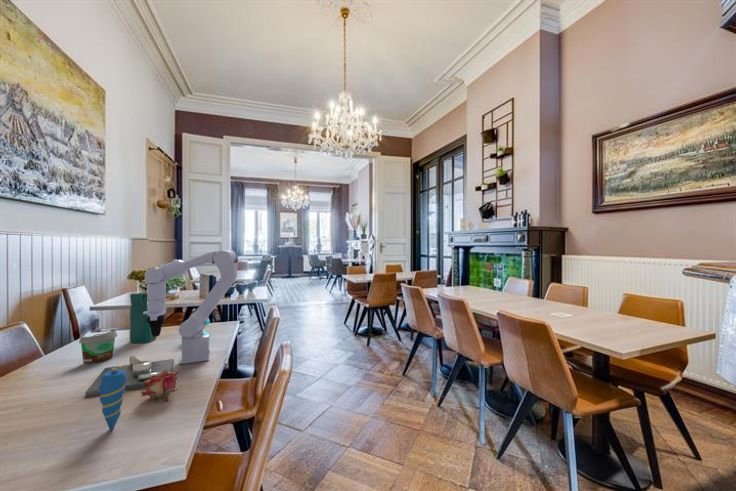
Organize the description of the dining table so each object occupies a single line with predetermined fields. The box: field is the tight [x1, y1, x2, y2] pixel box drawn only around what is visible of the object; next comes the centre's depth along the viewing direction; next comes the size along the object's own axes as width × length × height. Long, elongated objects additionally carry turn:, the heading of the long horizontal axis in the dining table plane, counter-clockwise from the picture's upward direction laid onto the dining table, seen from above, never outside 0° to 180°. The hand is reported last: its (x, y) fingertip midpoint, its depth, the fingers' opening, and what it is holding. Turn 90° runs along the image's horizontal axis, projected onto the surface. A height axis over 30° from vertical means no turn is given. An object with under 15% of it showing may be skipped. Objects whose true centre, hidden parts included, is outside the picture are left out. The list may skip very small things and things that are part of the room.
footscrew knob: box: [129, 355, 153, 376], centre depth 108 cm, size 14×5×3 cm, turn 51°
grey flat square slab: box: [84, 358, 175, 398], centre depth 105 cm, size 20×20×3 cm
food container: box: [78, 328, 118, 365], centre depth 121 cm, size 12×6×10 cm, turn 168°
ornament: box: [98, 365, 127, 430], centre depth 76 cm, size 5×5×15 cm
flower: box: [140, 370, 183, 402], centre depth 91 cm, size 10×9×8 cm
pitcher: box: [128, 291, 158, 344], centre depth 145 cm, size 10×8×22 cm
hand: (156, 335), depth 120 cm, fingers closed
